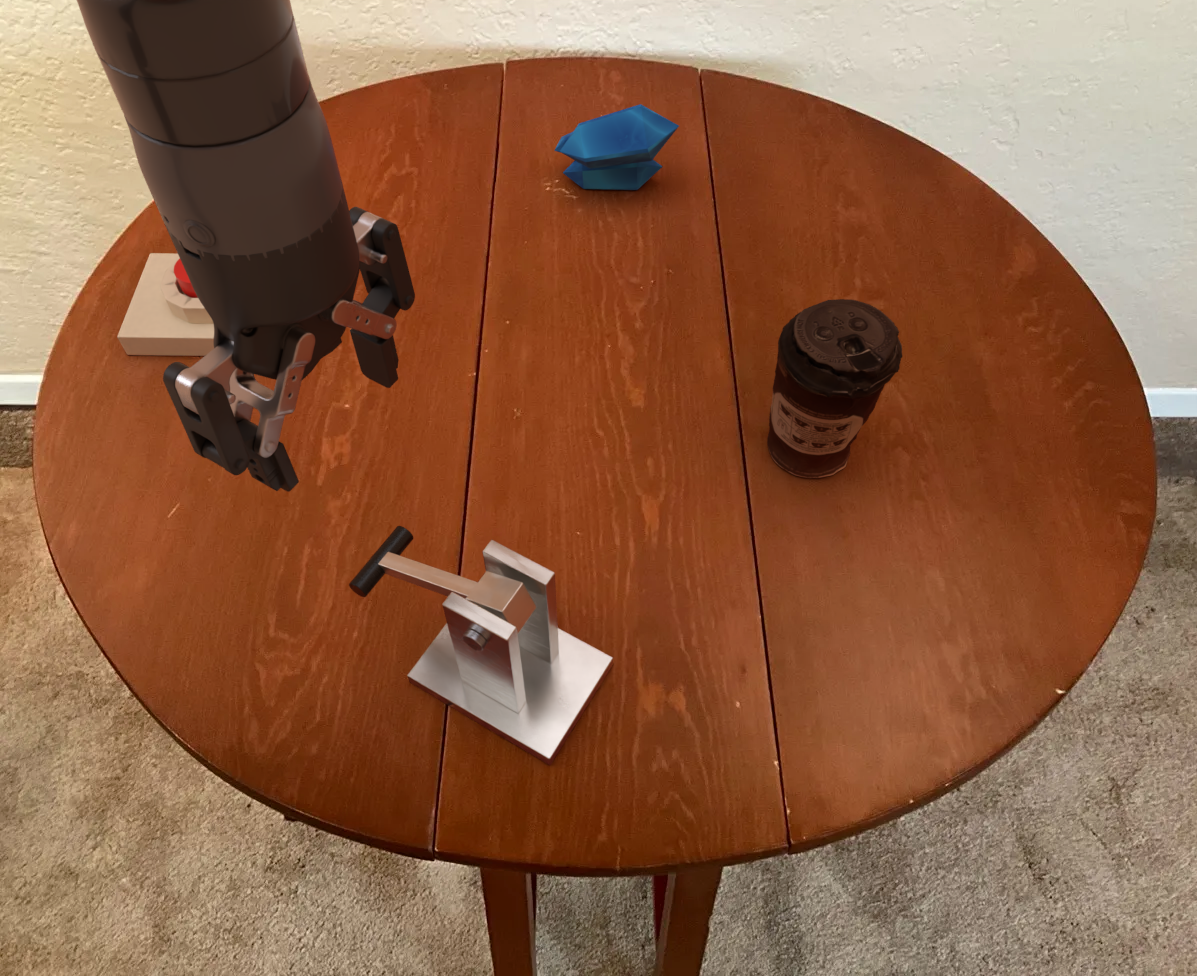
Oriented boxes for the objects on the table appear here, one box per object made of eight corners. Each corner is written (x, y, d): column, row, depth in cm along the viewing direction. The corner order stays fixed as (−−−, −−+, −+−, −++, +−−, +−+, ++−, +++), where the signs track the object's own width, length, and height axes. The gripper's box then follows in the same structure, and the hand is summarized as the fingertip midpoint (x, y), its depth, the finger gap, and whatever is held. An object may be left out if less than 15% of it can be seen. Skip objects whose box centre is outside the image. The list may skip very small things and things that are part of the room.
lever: (358, 599, 61) (341, 576, 60) (405, 541, 64) (390, 518, 62) (503, 655, 55) (488, 631, 53) (549, 589, 57) (536, 563, 56)
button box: (127, 355, 80) (107, 321, 77) (158, 271, 86) (142, 236, 82) (283, 357, 80) (271, 323, 77) (305, 273, 86) (294, 238, 83)
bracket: (409, 682, 64) (377, 597, 54) (477, 591, 68) (459, 496, 58) (550, 766, 61) (543, 691, 51) (613, 664, 65) (618, 578, 55)
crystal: (543, 98, 90) (670, 69, 88) (565, 173, 97) (684, 148, 95) (543, 147, 85) (677, 118, 84) (567, 223, 92) (691, 197, 91)
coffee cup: (850, 508, 72) (897, 395, 62) (742, 478, 74) (769, 363, 63) (870, 422, 77) (916, 303, 66) (768, 395, 78) (797, 275, 68)
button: (175, 298, 79) (167, 282, 77) (187, 264, 81) (180, 248, 80) (224, 299, 79) (217, 283, 77) (235, 265, 81) (229, 249, 80)
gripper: (296, 79, 45) (361, 324, 59) (54, 254, 38) (190, 488, 52) (425, 131, 43) (462, 374, 56) (193, 327, 36) (298, 551, 49)
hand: (332, 428), depth 54 cm, fingers open, 8 cm apart
